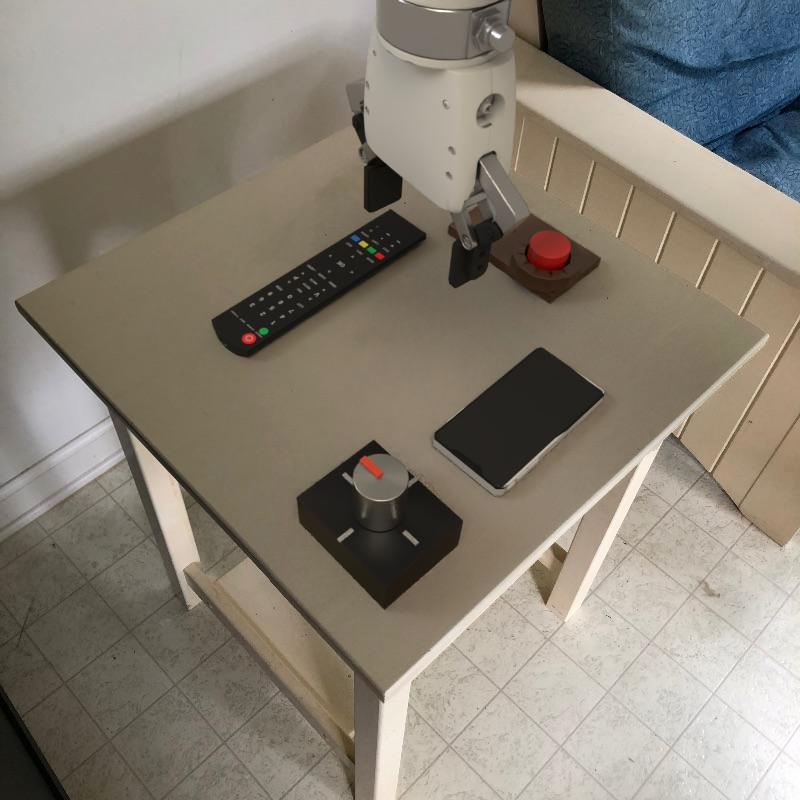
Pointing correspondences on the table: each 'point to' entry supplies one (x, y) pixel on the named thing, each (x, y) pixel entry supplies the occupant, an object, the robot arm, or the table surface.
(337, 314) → the table surface
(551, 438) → the smartphone
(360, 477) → the dimmer knob
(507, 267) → the switch block
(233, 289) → the table surface
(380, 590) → the dimmer panel
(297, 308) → the remote control
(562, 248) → the light button
